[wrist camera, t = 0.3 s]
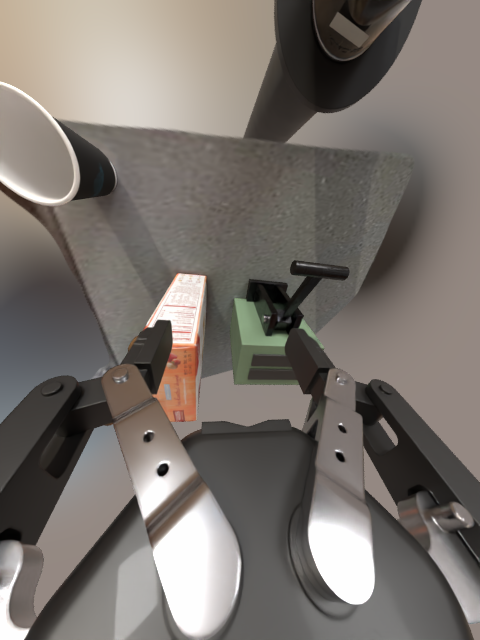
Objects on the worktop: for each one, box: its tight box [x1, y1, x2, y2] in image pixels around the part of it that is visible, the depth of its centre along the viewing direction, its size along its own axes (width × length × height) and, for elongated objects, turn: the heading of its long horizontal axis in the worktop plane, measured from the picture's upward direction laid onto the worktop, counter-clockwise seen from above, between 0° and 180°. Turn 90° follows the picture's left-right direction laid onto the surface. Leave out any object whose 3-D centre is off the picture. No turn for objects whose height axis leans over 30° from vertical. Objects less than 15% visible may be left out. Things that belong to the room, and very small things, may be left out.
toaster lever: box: [274, 260, 349, 331], centre depth 23 cm, size 13×6×2 cm, turn 172°
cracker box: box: [143, 273, 206, 422], centre depth 28 cm, size 14×6×21 cm, turn 172°
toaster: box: [230, 298, 324, 385], centre depth 34 cm, size 9×13×15 cm
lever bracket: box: [246, 279, 304, 336], centre depth 32 cm, size 5×8×13 cm, turn 82°
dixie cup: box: [0, 82, 117, 206], centre depth 20 cm, size 8×8×11 cm
